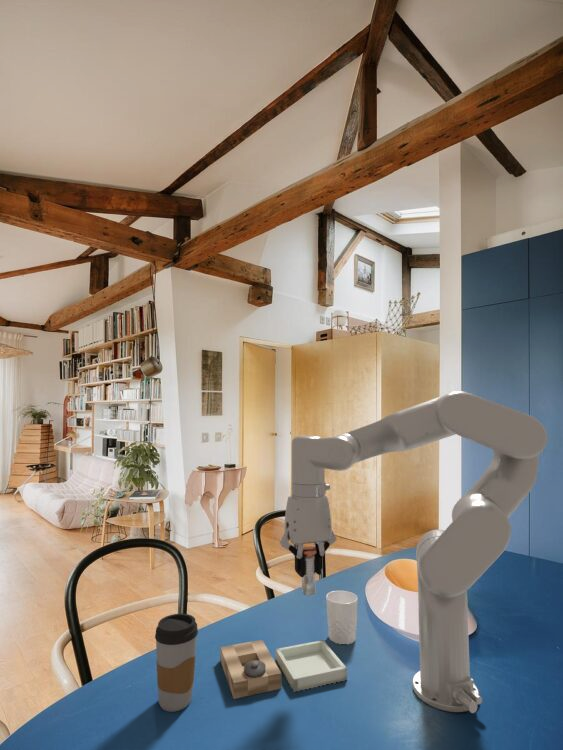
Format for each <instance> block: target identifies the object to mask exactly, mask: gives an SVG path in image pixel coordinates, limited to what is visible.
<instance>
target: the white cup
mask: <svg viewBox="0 0 563 750" xmlns="http://www.w3.org/2000/svg"><path fill="white" fill-rule="evenodd" d="M325 598H326V599H325V600H326V618H327V619H326V620H327V626H328V628H327V630H328V638H329V640H330V641H331V642H332V641H333V642H332V643H334V642H335V643H334V644H337V643H338V645H341V644H347V645H351V644H353V643H354V642H356V639H357V638H356V637H357V635H356V634H357V624H358V595H357V594H355V593H353V592H351V591H347V590H332V591H329V592H328V593H326V596H325Z"/></svg>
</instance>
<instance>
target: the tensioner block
mask: <svg viewBox="0 0 563 750" xmlns="http://www.w3.org/2000/svg"><path fill="white" fill-rule="evenodd" d="M219 647H220V651H219V652H220V654H219V659H220V660H219V661H220V664H221V667H222V669H223V674H224V675H225V678H226V681H227V684H228V687H229V689H230V692H231V695H232V697H233V699H234V700H236V699H240V698H245V697H249V696H254V695H257V694H262V693H268V692H272V691H276V690H281V689H282V671H281V669H280V667H279V666H278V664H277V662H276V660H275V659H274V658H273V656H272V654H271V653H270V652H271V651H269V649H268V647H267V646H266V644H265V642H264V640H263V639H258V640H252V641H247V642H242V643H236V644H230V645H224V646H219Z"/></svg>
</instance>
